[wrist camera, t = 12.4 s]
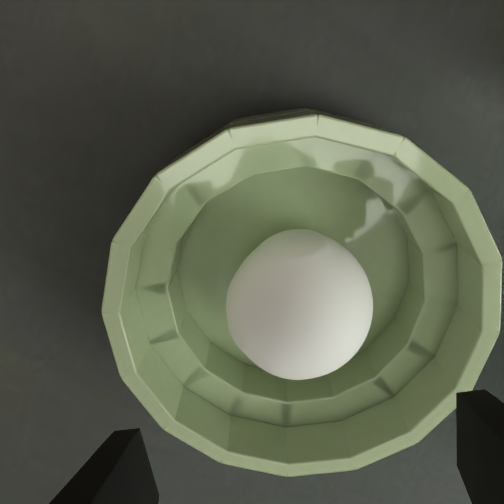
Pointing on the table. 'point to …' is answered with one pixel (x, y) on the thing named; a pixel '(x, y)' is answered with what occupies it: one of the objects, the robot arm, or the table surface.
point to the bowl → (342, 231)
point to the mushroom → (299, 305)
